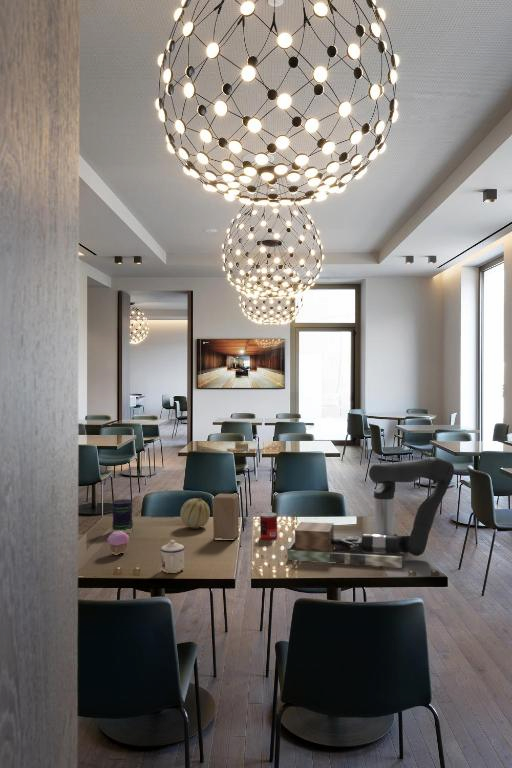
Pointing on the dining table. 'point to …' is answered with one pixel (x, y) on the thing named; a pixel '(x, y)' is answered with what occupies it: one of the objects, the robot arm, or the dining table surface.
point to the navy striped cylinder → (122, 514)
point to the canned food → (268, 526)
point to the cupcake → (118, 541)
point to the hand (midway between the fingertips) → (331, 541)
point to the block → (225, 516)
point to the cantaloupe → (195, 513)
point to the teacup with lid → (172, 556)
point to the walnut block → (314, 537)
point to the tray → (343, 557)
